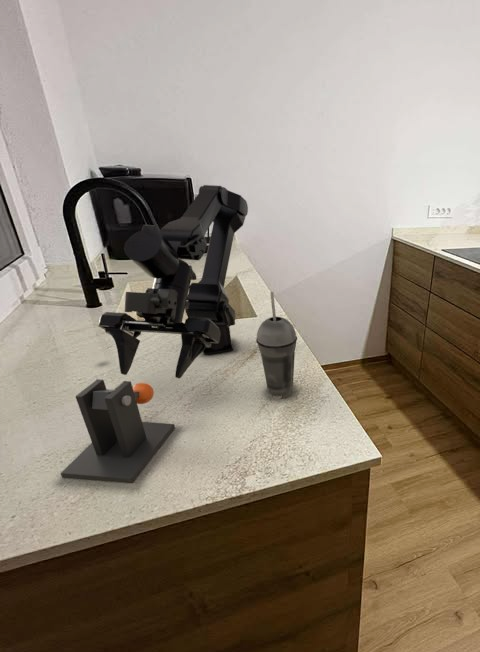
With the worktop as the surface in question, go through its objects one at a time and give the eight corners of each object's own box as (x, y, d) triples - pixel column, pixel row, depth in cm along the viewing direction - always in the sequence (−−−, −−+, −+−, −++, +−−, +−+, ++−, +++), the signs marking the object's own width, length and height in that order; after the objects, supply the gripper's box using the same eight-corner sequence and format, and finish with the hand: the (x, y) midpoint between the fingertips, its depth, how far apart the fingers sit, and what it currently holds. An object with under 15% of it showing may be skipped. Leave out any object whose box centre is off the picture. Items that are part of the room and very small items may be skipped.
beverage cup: (267, 407, 71) (257, 303, 61) (257, 387, 76) (247, 290, 67) (304, 397, 74) (301, 298, 64) (292, 379, 79) (287, 285, 70)
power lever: (137, 401, 64) (138, 381, 64) (157, 403, 64) (158, 382, 64) (87, 412, 53) (88, 387, 53) (111, 413, 52) (113, 388, 52)
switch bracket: (117, 426, 64) (97, 365, 59) (176, 431, 64) (161, 369, 58) (63, 481, 53) (33, 411, 48) (133, 486, 53) (111, 417, 48)
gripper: (88, 265, 61) (59, 359, 57) (203, 271, 61) (183, 367, 56) (129, 295, 72) (107, 376, 67) (228, 301, 71) (212, 383, 67)
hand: (150, 376), depth 64 cm, fingers open, 9 cm apart
